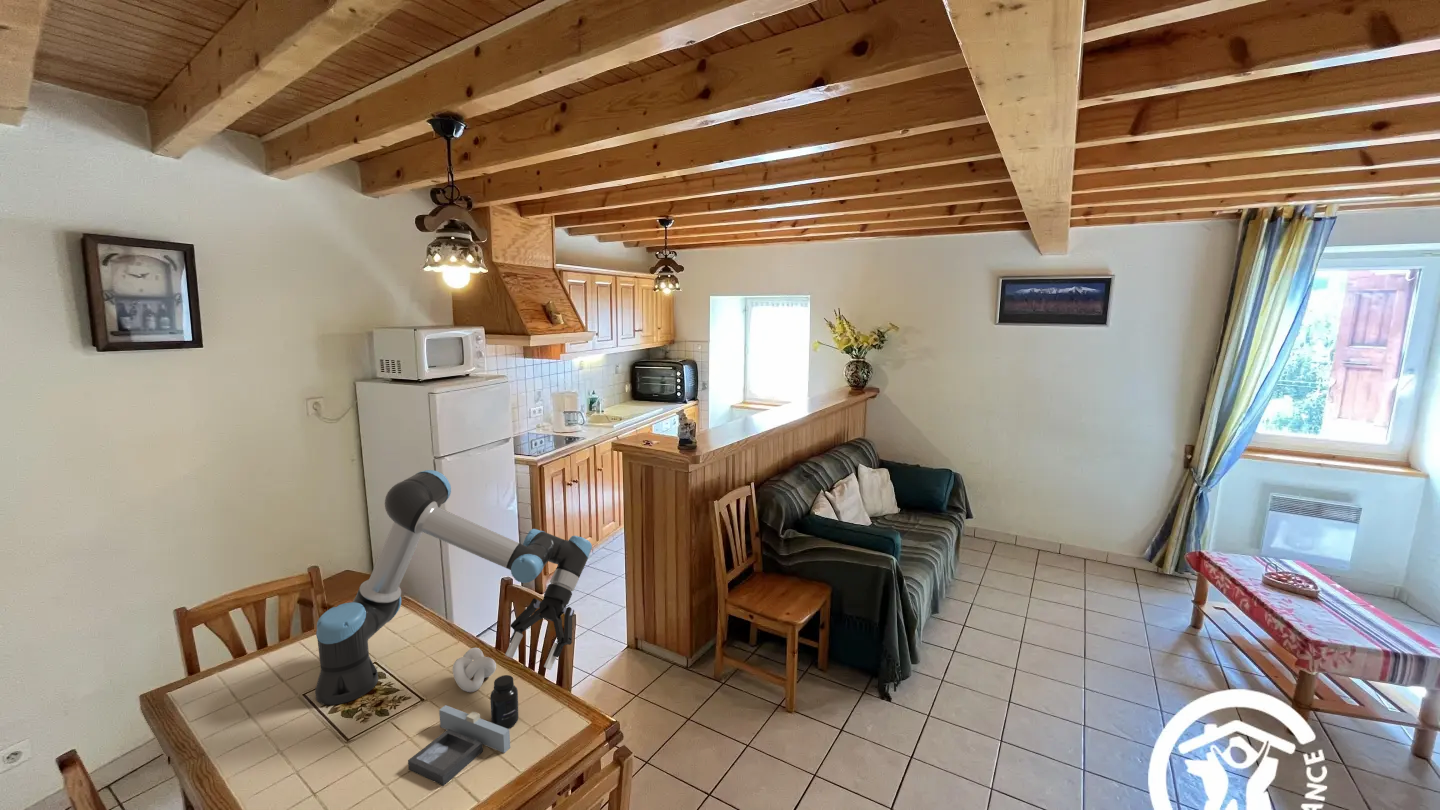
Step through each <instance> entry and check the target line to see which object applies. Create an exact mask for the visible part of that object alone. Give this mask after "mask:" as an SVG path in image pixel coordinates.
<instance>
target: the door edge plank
mask: <svg viewBox="0 0 1440 810" xmlns="http://www.w3.org/2000/svg"><path fill="white" fill-rule="evenodd" d="M438 711H439V713H438V714H439V726H440V728H442V729H444V730H445V731H446V730H448V729H451V730H453V731H455V732H458V733H460V734H463V735H465V736H468V737H470V738H473V739H475V740H478V741H480V742H482V745H483V746H486V747H487V748H491V749H493V750H496V751H498V752H501V753H503V754H505V753H507V751H508V750H509V749H511V735H510V734H511V733H510V732H511V731H510V728H508V729H507V728H504V727H502V726H499V725H496V724H494V723H491V721H487V720H485V719H483V718H481V714H480V713H479V712H476V711H475V710H474V711H471V712H470V713H467V712H464V711H462V710H460V709H456V708H454V707H452V706H449V705H446V704H445V705H444V706H442V707H440V709H439V710H438Z"/></svg>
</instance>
